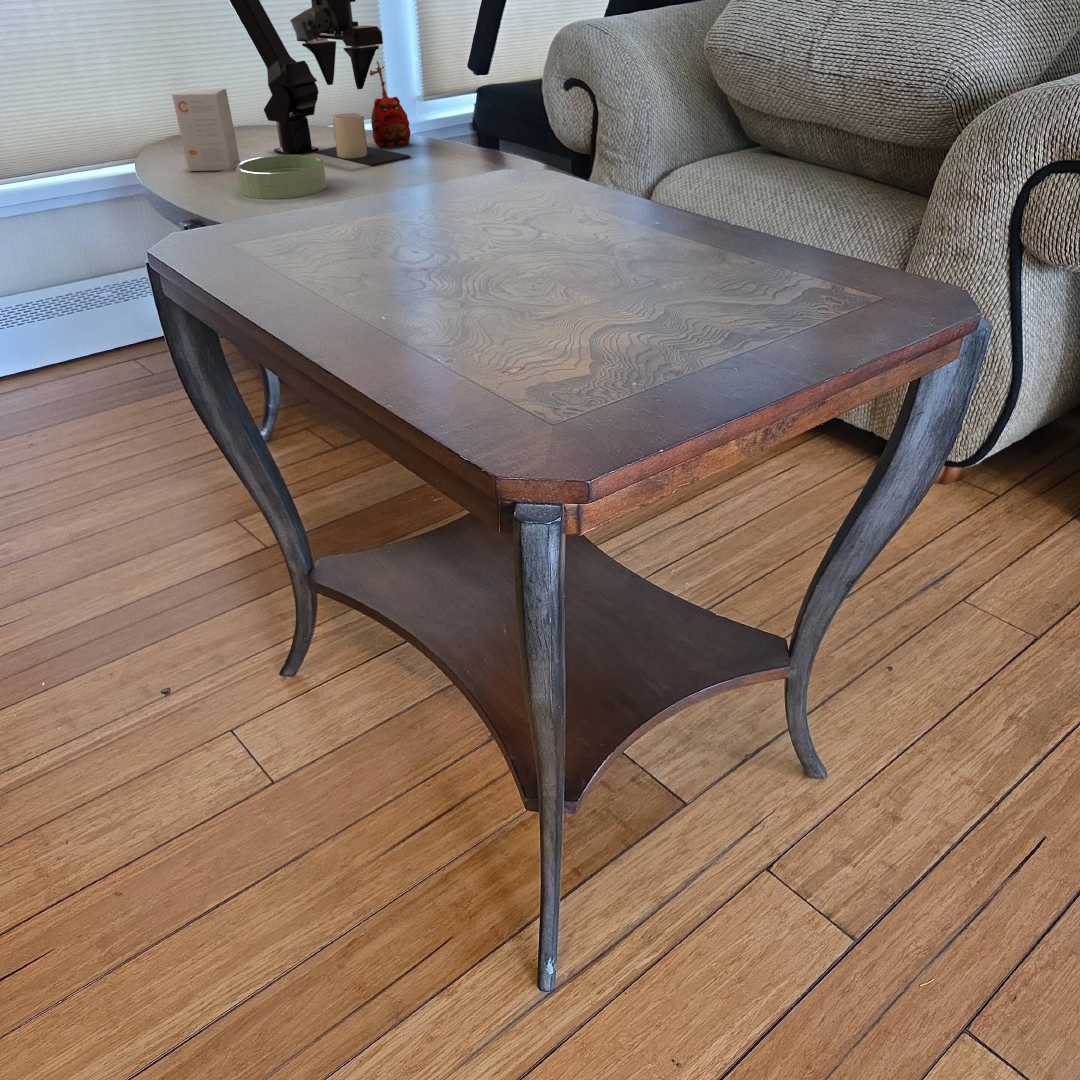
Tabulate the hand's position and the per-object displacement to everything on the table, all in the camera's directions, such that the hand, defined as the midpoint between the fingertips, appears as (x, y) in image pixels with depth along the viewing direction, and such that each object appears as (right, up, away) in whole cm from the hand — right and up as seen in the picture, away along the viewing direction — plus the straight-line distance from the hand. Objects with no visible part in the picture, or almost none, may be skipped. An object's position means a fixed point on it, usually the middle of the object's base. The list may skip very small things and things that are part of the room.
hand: (344, 86), depth 173 cm
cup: (0, -10, +7) cm, 12 cm away
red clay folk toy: (+6, -4, +16) cm, 18 cm away
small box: (-25, -15, +1) cm, 28 cm away
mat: (0, -10, +7) cm, 12 cm away
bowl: (-7, -25, -15) cm, 30 cm away
